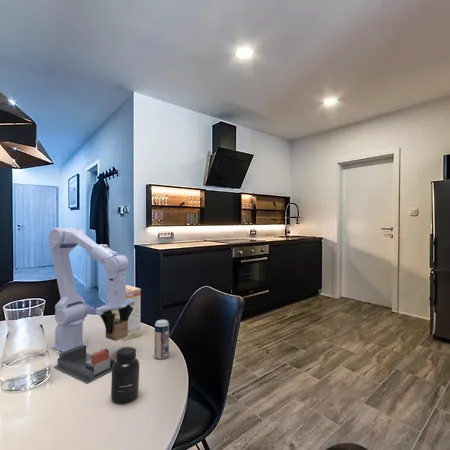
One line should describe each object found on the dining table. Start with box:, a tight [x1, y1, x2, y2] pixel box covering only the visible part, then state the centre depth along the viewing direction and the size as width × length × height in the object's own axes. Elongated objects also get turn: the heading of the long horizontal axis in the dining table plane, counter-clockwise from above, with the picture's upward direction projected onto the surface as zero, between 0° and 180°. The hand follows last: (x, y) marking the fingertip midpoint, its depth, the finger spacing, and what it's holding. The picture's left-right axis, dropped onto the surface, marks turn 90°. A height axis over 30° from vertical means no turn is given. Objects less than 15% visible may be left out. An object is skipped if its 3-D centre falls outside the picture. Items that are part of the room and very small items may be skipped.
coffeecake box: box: [106, 284, 142, 341], centre depth 117 cm, size 15×7×20 cm, turn 49°
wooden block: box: [105, 319, 128, 342], centre depth 96 cm, size 5×5×6 cm
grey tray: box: [53, 345, 116, 384], centre depth 88 cm, size 17×11×4 cm, turn 59°
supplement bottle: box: [110, 346, 140, 405], centre depth 73 cm, size 7×7×12 cm
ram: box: [86, 348, 111, 375], centre depth 86 cm, size 4×6×6 cm
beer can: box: [153, 319, 170, 360], centre depth 96 cm, size 5×5×12 cm
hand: (116, 330), depth 96 cm, fingers closed on wooden block, 5 cm apart
